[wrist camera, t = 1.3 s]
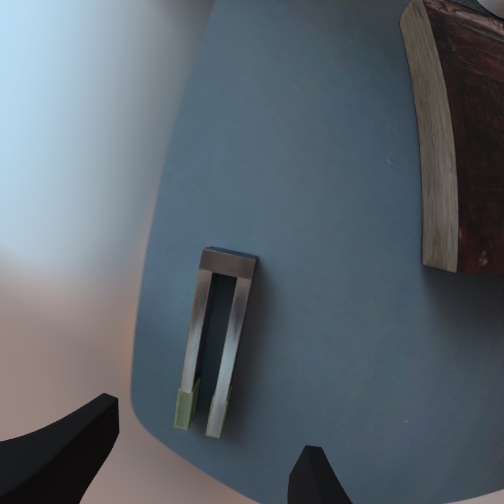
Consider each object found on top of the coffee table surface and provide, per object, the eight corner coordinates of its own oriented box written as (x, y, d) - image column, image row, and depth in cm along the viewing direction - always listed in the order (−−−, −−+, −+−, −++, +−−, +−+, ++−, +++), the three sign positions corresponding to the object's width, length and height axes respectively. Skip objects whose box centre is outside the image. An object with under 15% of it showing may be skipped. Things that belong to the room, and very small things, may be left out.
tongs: (225, 420, 21) (219, 439, 19) (182, 410, 21) (173, 427, 19) (259, 256, 20) (257, 259, 18) (209, 245, 20) (200, 248, 18)
